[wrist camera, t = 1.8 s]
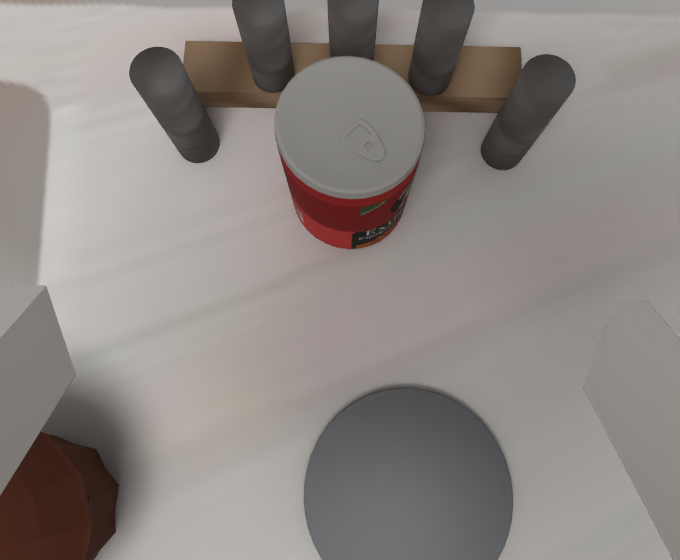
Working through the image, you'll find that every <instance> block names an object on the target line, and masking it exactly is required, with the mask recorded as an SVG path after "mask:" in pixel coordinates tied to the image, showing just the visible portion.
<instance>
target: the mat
mask: <svg viewBox="0 0 680 560" xmlns="http://www.w3.org/2000/svg"><path fill="white" fill-rule="evenodd" d="M304 507H305V516H306V520H307V525H308V529H309V532H310V535H311V538H312V541H313V543H314V545H315V547H316V549H317V551H318V553H319V555H320V557H321V558H322V560H498V558H499V556H500V554H501V552H502V550H503V548H504V546H505V543H506V540H507V537H508V534H509V530H510V525H511V520H512V509H513V496H512V486H511V480H510V475H509V471H508V468H507V464H506V461H505V459H504V457H503V454H502V452H501V450H500V448H499V446H498V445H497V443H496V441H495V439H494V438H493V436H492V435H491V434H490V432H489V431H488V430H487V428H486V427H485V426H484V425H483V424H482V423H481V422H480V421H479V419H478V418H477V417H476V416H475V415H473V414H472V413H471V412H470V411H468V410H467V409H466V408H464V407H463V406H461V405H460V404H458V403H456V402H455V401H453V400H451V399H449V398H447V397H444V396H442V395H440V394H436V393H433V392H430V391H425V390H419V389H404V388H401V389H391V390H385V391H381V392H377V393H374V394H371V395H369V396H366V397H364V398H362V399H360V400H358V401H356V402H355V403H353V404H351V405H350V406H349V407H347V408H346V409H345V410H343V411H342V412H341V413H340V414H339V415H338V416H337V417H336V418H335V419H334V420H333V421H332V422H331V423H330V424H329V425H328V427H327V428H326V429H325V431H324V432H323V434H322V435H321V437H320V439H319V440H318V442H317V444H316V446H315V448H314V450H313V453H312V455H311V457H310V461H309V464H308V468H307V471H306V478H305V484H304Z"/></svg>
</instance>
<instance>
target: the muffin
mask: <svg viewBox="0 0 680 560" xmlns="http://www.w3.org/2000/svg"><path fill="white" fill-rule="evenodd" d="M118 487H119V485H118V484H117V483H116V481H115V480H114V479H113V478H112V476H111V475H110V474H109V472H108V471H107V470H106V468H105V466H104V464H103V462H102V460H101V458H100V456H99V454H98V452H97V450H96V449H92V448H88V447H83V446H79V445H75V444H73V443H70V442H68V441H66V440H64V439H62V438H59V437H57V436H52V435H47V434H45V433H43V432H40V433H39V434H38V436H37V438H36V439H35V441H34V442H33V444H32V446H31V447H30V449H29V450H28V452H27V454H26V455H25V457H24V458H23V460H22V462H21V463H20V465H19V466H18V468H17V470H16V471H15V473H14V474H13V476H12V478H11V479H10V481H9V482H8V484H7V485H6V487H5V489H4V490H3V492H2V493H1V495H0V560H94V559H95V557H96V556H97V554H98V552H99V551H100V549H101V548H102V547H103V546H104V545H105V544H106V543H107V541H108V540H109V539H110V538H111V537H112V536H113V535H114V533H115V532H116V529H115V506H116V500H117V493H118Z"/></svg>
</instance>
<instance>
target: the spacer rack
mask: <svg viewBox="0 0 680 560" xmlns="http://www.w3.org/2000/svg"><path fill="white" fill-rule="evenodd" d="M378 4H379V0H328V23H329V44H316V43H290V37H289V30H288V24H287V17H286V11H285V4H284V0H233V1H232V7H233V11H234V14H235V18H236V21H237V25H238V28H239V31H240V35H241V38H242V42H212V41H186V43H185V53H184V63H183V64H182V62H181V60H180V58H179V56H178V55H177V54H176V53H175V52H173V51H172V50H170V49H168V48H164V47H152V48H148V49H146V50H144V51H142V52H140V53H139V54H138V55H137V56H136V57H135V58H134V60H133V61H132V63H131V66H130V70H129V75H130V79H131V82H132V83H133V85H134V87H135V88H136V89H137V91H138V92H139V94H140V95H141V97H142V98H143V100H144V101H145V103H146V104H147V106H148V107H149V108H150V110H151V111H152V113H153V114H154V116H155V117H156V119H157V120H158V122H159V123H160V125H161V126H162V127H163V129H164V130H165V132H166V133H167V135H168V136H169V138H170V139H171V141H172V142H173V144H174V145H175V146H176V148H177V149H178V151H179V152H180V154H181V155H182V156H183V157H184V158H185V159H186V160H188V161H190V162H193V163H203V162H206V161H208V160H210V159H211V158H212V157H213V156H214V155H215V154H216V153H217V151H218V148H219V138H218V135H217V133H216V131H215V129H214V127H213V125H212V123H211V121H210V119H209V117H208V115H207V113H206V111H205V109H204V107H251V108H276V106H277V104H278V101H279V98H280V96H281V93H282V92H283V90H284V89H285V87H286V85H287V84H288V83H289V81H290V80H291V79H292V78H293V77H294V76H295V75H296V74H297V73H299V72H300V71H301V70H303V69H304V68H306V67H307V66H309V65H311V64H313V63H316V62H318V61H320V60H323V59H328V58H332V57H340V56H353V57H361V58H366V59H369V60H372V61H376V62H378V63H380V64H382V65H384V66H386V67H388V68H390V69H391V70H393V71H394V72H395V73H397V74H398V75H399V76H401V77H402V78H403V79H404V80H405V81H406V83H407V84H408V85H409V86H410V87H411V88H412V90H413V92H414V93H415V95H416V96H417V98H418V100H419V103H420V105H421V108H422V111H441V112H489V113H498V115H497V117H496V119H495V120H494V122H493V124H492V126H491V128H490V130H489V131H488V133H487V135H486V137H485V139H484V141H483V142H482V145H481V154H482V157H483V159H484V160H485V162H486V163H487V164H488V165H489V166H491V167H493V168H495V169H499V170H507V169H511V168H513V167H515V166H516V165H517V164H518V163H519V162H520V160H521V159H522V158H523V157H524V155H525V154H526V153H527V151H528V150H529V149H530V147H531V146H532V145H533V143H534V142H535V141H536V139H537V138H538V137H539V135H540V134H541V133H542V131H543V130H544V129H545V127H546V126H547V125H548V123H549V122H550V121H551V119H552V118H553V117H554V115H555V114H556V113H557V111H558V110H559V109H560V107H561V106H562V105H563V103H564V102H565V101H566V99H567V98H568V97H569V96H570V94H571V93H572V91H573V89H574V87H575V82H576V79H575V74H574V71H573V69H572V67H571V66H570V65H569V64H568V63H567V62H566V61H565V60H563V59H562V58H560V57H558V56H555V55H548V54H544V55H539V56H536V57H533V58H532V59H530V60H529V61H528V62H527V63H526V64H525V66H524V68H523V69H521V48H520V47H472V46H463V43H464V40H465V37H466V34H467V31H468V28H469V25H470V22H471V19H472V16H473V13H474V1H473V0H423V3H422V8H421V13H420V18H419V23H418V28H417V33H416V38H415V43H414V45H375V39H376V27H377V16H378Z"/></svg>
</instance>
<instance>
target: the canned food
mask: <svg viewBox="0 0 680 560" xmlns="http://www.w3.org/2000/svg"><path fill="white" fill-rule="evenodd" d="M424 133H425V123H424V116H423V111H422V108H421V105H420V103H419V100H418V98H417V96H416V95H415V93H414V92H413V90H412V88H411V87H410V86H409V85H408V84H407V83H406V81H405V80H404V79H403V78H402V77H401V76H399V75H398V74H397V73H395V72H394V71H393V70H391V69H390V68H388V67H386V66H384V65H382V64H380V63H378V62H376V61H372V60H369V59H366V58H361V57H353V56H340V57H332V58H328V59H323V60H320V61H318V62H316V63H313V64H311V65H309V66H307V67H306V68H304V69H303V70H301V71H300V72H299V73H297V74H296V75H295V76H294V77H293V78H292V79H291V80H290V81H289V83H288V84H287V85H286V87H285V89H284V90H283V92H282V93H281V96H280V98H279V101H278V104H277V106H276V113H275V135H276V141H277V145H278V150H279V154H280V157H281V161H282V164H283V168H284V171H285V175H286V178H287V182H288V186H289V189H290V193H291V196H292V200H293V203H294V206H295V210H296V213H297V215H298V217H299V219H300V221H301V223H302V224H303V225H304V226H305V228H306V229H307V230H308V231H309V232H310V233H311V234H312V235H314V236H315V237H316V238H317V239H319V240H321V241H323V242H325V243H326V244H329V245H332V246H335V247H339V248H346V249H356V248H363V247H367V246H371V245H373V244H375V243H377V242H379V241H381V240H382V239H383V238H385V237H386V236H387V235H389V234H390V233H391V231H392V230H393V229H394V228H395V227H396V225H397V223H398V221H399V220H400V218H401V215H402V212H403V209H404V206H405V203H406V200H407V197H408V194H409V191H410V188H411V185H412V182H413V179H414V175H415V172H416V169H417V166H418V163H419V160H420V156H421V152H422V149H423V145H424Z"/></svg>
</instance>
